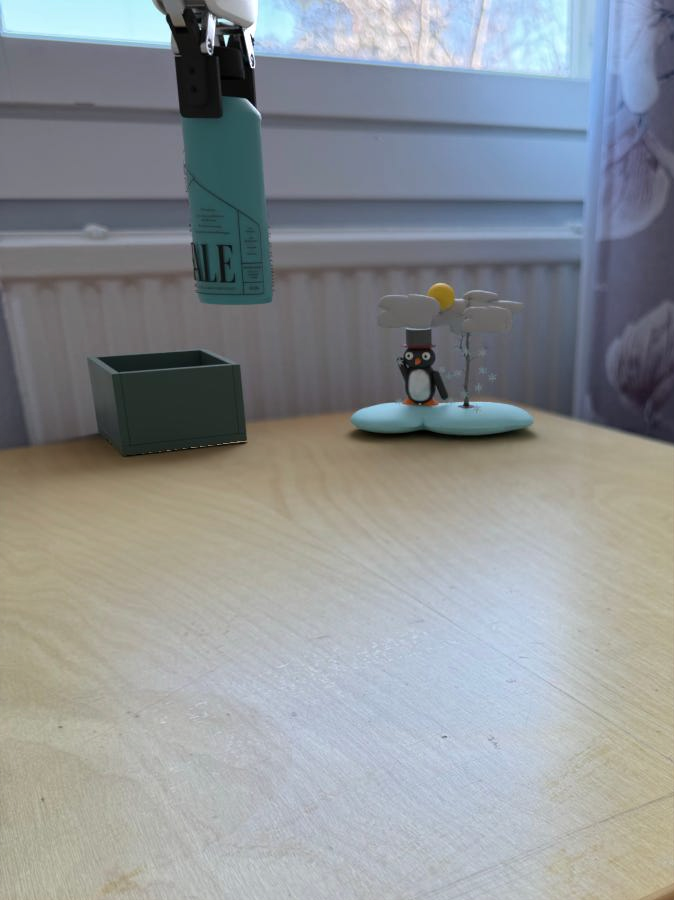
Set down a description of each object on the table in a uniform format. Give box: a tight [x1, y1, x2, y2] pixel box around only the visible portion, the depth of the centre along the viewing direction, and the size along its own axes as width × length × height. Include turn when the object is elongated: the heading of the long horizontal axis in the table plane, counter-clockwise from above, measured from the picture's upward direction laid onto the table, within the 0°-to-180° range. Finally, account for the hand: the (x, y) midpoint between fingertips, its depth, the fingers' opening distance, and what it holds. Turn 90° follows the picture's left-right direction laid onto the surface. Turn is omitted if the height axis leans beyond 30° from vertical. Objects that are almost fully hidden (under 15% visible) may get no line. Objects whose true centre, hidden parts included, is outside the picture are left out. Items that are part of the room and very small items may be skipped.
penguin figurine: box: [350, 282, 535, 436], centre depth 107 cm, size 20×11×15 cm, turn 87°
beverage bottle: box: [179, 45, 276, 306], centre depth 80 cm, size 6×7×20 cm
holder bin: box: [86, 348, 248, 457], centre depth 105 cm, size 13×13×8 cm
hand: (220, 118), depth 78 cm, fingers closed on beverage bottle, 6 cm apart
